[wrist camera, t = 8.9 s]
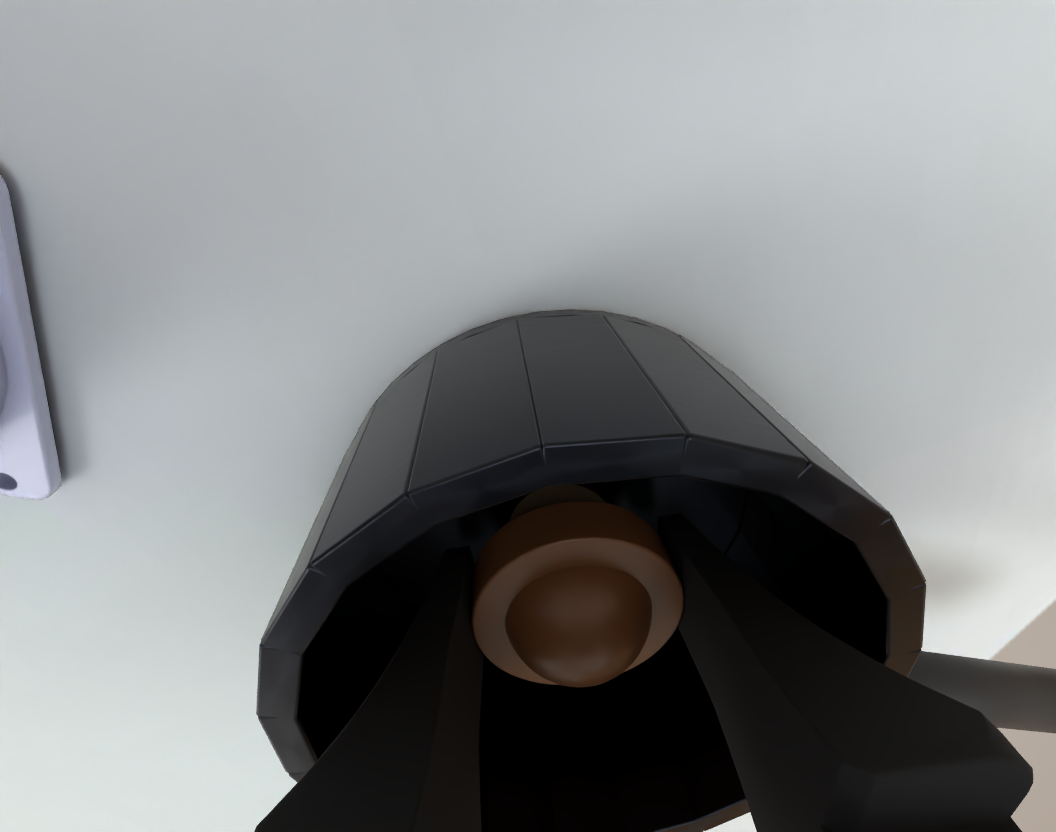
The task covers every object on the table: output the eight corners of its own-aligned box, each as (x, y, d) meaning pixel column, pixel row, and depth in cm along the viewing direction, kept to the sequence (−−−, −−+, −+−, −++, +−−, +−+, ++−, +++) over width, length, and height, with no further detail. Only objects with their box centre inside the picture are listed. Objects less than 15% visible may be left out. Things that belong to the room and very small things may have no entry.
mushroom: (533, 607, 16) (550, 764, 12) (437, 510, 14) (419, 661, 10) (671, 537, 15) (741, 681, 11) (592, 420, 13) (643, 546, 9)
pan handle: (772, 661, 13) (807, 723, 12) (803, 620, 12) (844, 682, 11) (1068, 697, 15) (1128, 753, 14) (1110, 664, 14) (1178, 720, 13)
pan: (324, 625, 16) (248, 853, 11) (375, 247, 11) (272, 343, 6) (663, 664, 19) (734, 864, 13) (845, 372, 13) (1083, 521, 8)
